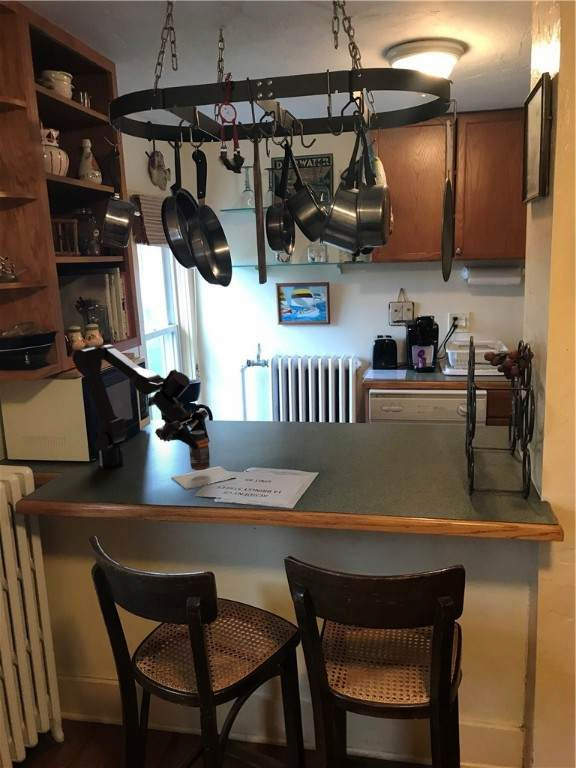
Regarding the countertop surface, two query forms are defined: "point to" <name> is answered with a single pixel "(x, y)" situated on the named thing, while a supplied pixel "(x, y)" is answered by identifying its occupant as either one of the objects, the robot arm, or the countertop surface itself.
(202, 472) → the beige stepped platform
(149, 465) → the countertop surface
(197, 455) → the supplement bottle
